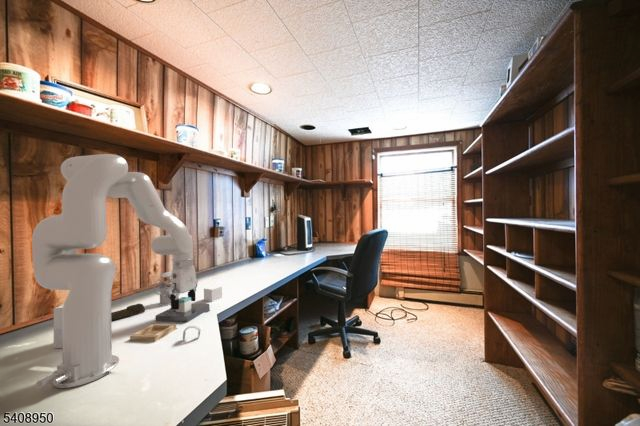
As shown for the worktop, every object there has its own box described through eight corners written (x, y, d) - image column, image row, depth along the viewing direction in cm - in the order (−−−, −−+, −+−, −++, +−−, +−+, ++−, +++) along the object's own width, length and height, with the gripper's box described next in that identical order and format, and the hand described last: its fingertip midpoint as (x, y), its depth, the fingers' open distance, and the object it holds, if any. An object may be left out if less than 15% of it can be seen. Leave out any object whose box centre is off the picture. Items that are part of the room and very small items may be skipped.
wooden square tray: (154, 344, 78) (154, 337, 78) (128, 343, 80) (128, 336, 80) (177, 330, 88) (177, 324, 88) (153, 329, 90) (153, 323, 90)
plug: (184, 317, 99) (184, 300, 99) (176, 317, 100) (175, 300, 100) (191, 313, 103) (191, 297, 103) (183, 313, 103) (182, 297, 104)
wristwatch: (183, 341, 80) (183, 326, 80) (200, 338, 82) (200, 323, 82) (182, 345, 77) (182, 329, 77) (199, 342, 79) (199, 326, 79)
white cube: (212, 302, 119) (211, 289, 119) (204, 300, 122) (203, 288, 122) (222, 298, 124) (221, 286, 125) (214, 296, 127) (213, 285, 127)
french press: (183, 302, 120) (182, 251, 121) (156, 308, 112) (155, 254, 112) (177, 298, 127) (177, 250, 128) (151, 304, 119) (150, 253, 119)
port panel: (187, 324, 93) (187, 316, 93) (155, 323, 95) (155, 315, 95) (209, 310, 107) (209, 303, 107) (181, 309, 109) (181, 303, 109)
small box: (73, 347, 78) (72, 307, 79) (52, 348, 78) (52, 308, 78) (95, 335, 86) (95, 299, 87) (77, 336, 86) (76, 299, 86)
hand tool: (86, 330, 92) (86, 317, 92) (85, 327, 95) (85, 315, 95) (146, 314, 106) (146, 303, 106) (143, 312, 109) (143, 301, 109)
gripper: (175, 268, 93) (176, 313, 92) (204, 260, 110) (205, 298, 109) (158, 268, 94) (159, 312, 93) (189, 260, 111) (190, 297, 110)
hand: (183, 304), depth 101 cm, fingers open, 9 cm apart
